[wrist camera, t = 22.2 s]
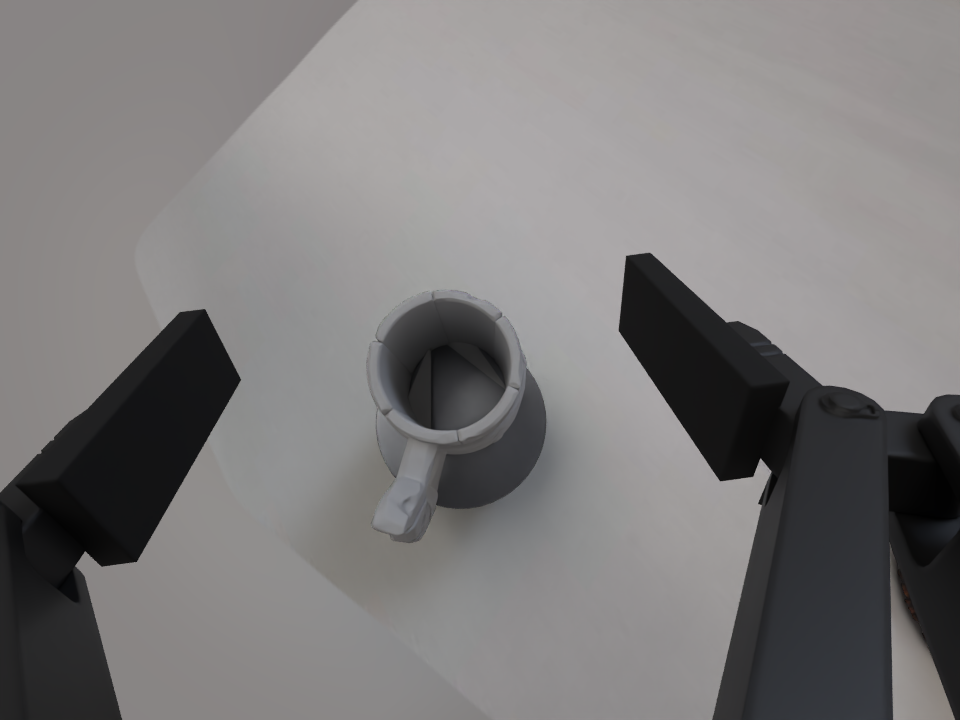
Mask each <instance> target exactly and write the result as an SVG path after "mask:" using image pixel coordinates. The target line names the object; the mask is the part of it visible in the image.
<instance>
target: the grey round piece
mask: <svg viewBox="0 0 960 720" xmlns="http://www.w3.org/2000/svg"><path fill="white" fill-rule="evenodd" d="M479 350H480V351H481V353H482V354H483V355H484V357H485V358H486V360H487V361H488V362H489V364H490V365H491V367H492V368H493V369H494V371H495V372H496V374H497V375H498V376H499V378H500V379H501V381H502V382H503V383H504V385H505V380H504V376H503V374H502V371H501V369H500V367H499V366H498V364H497V363H496V362H495V360H494V358H492V357H491V356H490V355H489V354H488V353H487V352H485V351H484V350H482V349H480V348H479ZM424 357H425V356H424ZM424 357H423V358H422V359H421V361H420V362H419V363H418V365H417V366H416V368H415V371H414V373H413V374H412V378H411V382H410V388H409V393H410V390H411V388H412V386H413V383H414V381H415V378H416V376H417V374H418V371H419V369H420V366H421V364H422V362H423V359H424ZM504 392H505V389H504V388H503V387H502V386H500V385H499V384H498V383H496V382H495V381H494V380H493V379H491V378H490V377H489V376H487V375H486V374H485V373H484V372H482V371H481V370H480V369H478V368H477V367H476V366H475V365H473V364H472V363H471V362H469V361H468V360H467V359H466V358H464V357H463V356H462V355H460V354H459V353H458V352H456V351H455V350H454V349H453V348H451V347H450V346H449V345H444V346H440V347H437V348H435V349H434V350H432V351H431V429H432V430H440V431H449V430H457V431H458V430H459V429H462V428H465V427H468V426H470V425H472V424H474V423H476V422H478V421H479V420H481V419H482V418H483V417H485V416H486V415H487V414H488V413H489V412H490V411H491V410H492V409H493V408H494V407H495V406H496V405H497V404H498V402H499V401H500V399H501V398H502V396H503V394H504ZM376 432H377V440H378V444H379V448H380V451H381V454H382V456H383V459H384V461H385V463H386V465H387V466H388V468H389V470H390V471H391V473H392V474H393V475H394V477H395V478H396V477H397V474H398V471H399V468H400V464H401V461H402V457H403V454H404V451H405V448H406V445H407V441H408V440H407V439H406V438H405V437H403V436H402V435H401V434H400V433H398V432H397V431H396V430H395V429H394V428H393V427H392V425H391V424H390V423H389V422H388V420H387V419H386V418H385V416H384V415H383V414H382V413H381V412H380V410H379V409H378V408H377V415H376ZM545 433H546V411H545V406H544V401H543V398H542V395H541V392H540V389H539V387H538V385H537V383H536V381H535V379H534V378H533V376H532V374H531V373H530V371H529V370H528V369H527V368H526V381H525V390H524V394H523V397H522V400H521V404H520V407H519V410H518V412H517V415H516V417H515V419H514V421H513V422H512V424H511V425H510V427H509V428H508V429H507V430H506V432H505V433H504V434H503V436H502V438H501V439H499V440H498V441H497V442H495V443H492V444H490V445H489V446H487V447H485V448H483V449H481V450H478V451H475V452H471V453H466V454H446V457H445V460H444V464H443V468H442V472H441V476H440V480H439V485H438V490H437V493H438V498H437V503H436V505H437V506H442V507H446V508H455V509H466V508H474V507H480V506H483V505H487V504H490V503H492V502H495V501H497V500H499V499H501V498H503V497H504V496H506V495H507V494H509V493H510V492H512V491H513V490H514V489H515V488H516V487H518V486H519V485H520V484H521V483H522V482H523V481H524V479H525V478H526V477H527V476H528V475H529V473H530V472H531V470H532V469H533V467H534V466H535V464H536V462H537V460H538V458H539V456H540V453H541V450H542V447H543V443H544V439H545Z"/></svg>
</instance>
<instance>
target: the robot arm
mask: <svg viewBox="0 0 960 720" xmlns="http://www.w3.org/2000/svg"><path fill="white" fill-rule="evenodd" d="M619 332H620V333H621V335H622V336H623V338H624V339H625V341H626V342H627V344H628V345H629V347H630V348H631V350H632V351H633V353H634V354H635V356H636V357H637V359H638V360H639V362H640V363H641V365H642V366H643V368H644V369H645V371H646V372H647V373H648V375H649V376H650V378H651V379H652V381H653V382H654V384H655V385H656V387H657V388H658V390H659V391H660V393H661V394H662V396H663V397H664V399H665V400H666V402H667V403H668V405H669V406H670V408H671V409H672V411H673V412H674V414H675V415H676V417H677V418H678V420H679V421H680V423H681V424H682V425H683V427H684V428H685V430H686V431H687V433H688V434H689V436H690V437H691V439H692V440H693V442H694V443H695V445H696V446H697V448H698V449H699V451H700V452H701V454H702V455H703V457H704V458H705V460H706V461H707V463H708V464H709V466H710V467H711V469H712V470H713V472H714V473H715V475H716V476H717V477H718V479H719V480H720V481H726V480H733V479H740V478H748V477H753V476H754V473H755V471H756V468H757V466H758V463H759V460H760V458H761V459H762V460H763V462H764V463H765V464H766V465H767V466H768V468H769V469H770V470H771V471H772V472H771V474H770V477H769V479H768V481H767V484H766V486H765V489H764V491H763V493H762V496H761V498H760V500H759V503H758V504H760V505H762V507H761V512H760V516H759V520H758V525H757V529H756V533H755V537H754V542H753V546H752V550H751V555H750V559H749V563H748V568H747V572H746V576H745V581H744V585H743V589H742V594H741V598H740V602H739V607H738V611H737V615H736V620H735V624H734V628H733V633H732V637H731V641H730V646H729V650H728V654H727V659H726V663H725V667H724V672H723V676H722V680H721V685H720V689H719V693H718V698H717V702H716V706H715V711H714V715H713V719H712V720H893V699H892V648H891V596H890V545H889V542H890V544H891V547H892V550H893V552H894V555H895V558H896V560H897V563H898V566H899V569H900V571H901V574H902V577H903V579H904V582H905V585H906V588H907V590H908V593H909V596H910V598H911V601H912V604H913V607H914V609H915V612H916V615H917V617H918V620H919V623H920V625H921V628H922V631H923V634H924V636H925V639H926V642H927V644H928V647H929V650H930V653H931V655H932V658H933V661H934V663H935V666H936V669H937V672H938V674H939V677H940V680H941V682H942V685H943V688H944V690H945V693H946V696H947V699H948V701H949V704H950V707H951V709H952V712H953V715H954V718H955V720H960V395H943V396H939V397H936V398H935V399H934V400H933V401H932V402H931V403H930V405H929V407H928V408H927V410H926V411H925V413H924V414H919V413H908V412H896V411H884V409H883V408H881V407H880V406H879V405H878V404H877V403H876V402H875V401H874V400H872V399H870V398H868V397H867V396H865V395H863V394H861V393H859V392H856V391H853V390H850V389H847V388H842V387H835V386H822V385H821V384H820V383H819V382H818V381H816V380H815V379H814V378H813V377H812V376H811V375H809V374H808V373H807V372H806V371H805V370H804V369H802V368H801V367H800V366H799V365H798V364H797V363H795V362H794V361H793V360H792V359H791V358H790V357H788V356H787V355H786V354H783V353H782V351H781V350H780V349H779V348H778V347H777V346H775V345H774V344H771V341H770V340H768V339H767V338H766V337H765V336H764V335H763V334H761V333H760V332H759V331H758V330H756V329H754V328H752V327H750V326H747V325H745V324H743V323H741V322H739V321H735V322H728V323H726V322H725V321H724V320H723V319H722V318H721V317H720V316H719V315H717V314H716V313H715V312H714V311H713V310H712V309H711V308H710V307H709V306H708V305H707V304H705V303H704V302H703V301H702V300H701V299H700V298H699V297H698V296H697V295H696V294H695V293H694V292H692V291H691V290H690V289H689V288H688V287H687V286H686V285H685V284H684V283H683V282H682V281H680V280H679V279H678V278H677V277H676V276H675V275H674V274H673V273H672V272H671V271H670V270H668V269H667V268H666V267H665V266H664V265H663V264H662V263H661V262H660V261H659V260H658V259H657V258H655V257H654V256H653V255H652V254H651V253H645V254H637V255H629V256H626V263H625V273H624V283H623V293H622V303H621V313H620V323H619ZM240 381H241V379H240V377H239V375H238V373H237V371H236V369H235V367H234V365H233V363H232V361H231V359H230V357H229V355H228V353H227V351H226V349H225V347H224V345H223V343H222V341H221V339H220V338H219V336H218V334H217V332H216V330H215V328H214V326H213V324H212V322H211V320H210V318H209V316H208V314H207V312H206V310H205V309H202V310H194V311H186V312H180V313H179V314H178V315H177V316H176V317H175V318H174V319H173V320H172V321H171V322H170V323H169V324H168V325H167V326H166V327H165V328H164V329H163V330H162V331H161V333H160V334H159V335H158V336H157V337H156V338H155V339H154V340H153V341H152V342H151V343H150V344H149V345H148V346H147V347H146V348H145V349H144V350H143V351H142V352H141V353H140V354H139V356H138V357H137V358H136V359H135V360H134V361H133V362H132V363H131V364H130V365H129V366H128V367H127V368H126V369H125V370H124V371H123V372H122V373H121V374H120V375H119V377H118V378H117V379H116V380H115V381H114V382H113V383H112V384H111V385H110V386H109V387H108V388H107V389H106V390H105V391H104V392H103V393H102V394H101V395H100V396H99V398H97V399H96V401H95V402H94V403H93V404H92V405H91V406H90V407H89V408H88V409H87V410H86V411H84V412H83V413H82V414H80V415H79V416H77V417H75V418H74V419H73V420H71V421H70V422H69V423H68V424H67V425H66V426H65V427H64V428H63V429H62V430H61V431H60V432H59V433H58V434H57V435H56V436H55V437H54V440H53V441H50V442H49V443H48V444H47V445H46V446H45V447H44V448H43V449H42V450H41V451H42V453H41V454H37V455H36V457H35V458H34V459H33V460H32V461H31V462H30V463H29V464H28V465H27V466H26V467H25V468H24V469H23V470H22V471H21V472H20V473H19V474H18V475H17V476H16V477H15V478H14V479H13V480H12V481H11V482H10V483H9V484H8V485H7V486H6V487H5V488H4V489H3V490H2V492H1V493H0V720H122V718H121V714H120V710H119V706H118V702H117V699H116V695H115V691H114V687H113V684H112V679H111V676H110V672H109V668H108V664H107V660H106V657H105V653H104V649H103V645H102V641H101V638H100V634H99V630H98V626H97V622H96V618H95V614H94V611H93V607H92V603H91V599H90V596H89V592H88V588H87V584H86V580H85V577H84V575H83V574H82V573H81V571H79V570H78V569H77V568H76V567H75V565H76V564H77V562H78V561H79V559H80V558H81V556H82V555H83V554H84V552H85V551H86V552H87V553H88V554H89V555H90V556H91V557H92V558H93V559H94V560H95V561H96V562H97V563H98V564H99V565H101V566H102V567H103V566H110V565H116V564H124V563H132V562H137V560H138V558H139V557H140V555H141V553H142V552H143V550H144V548H145V547H146V545H147V543H148V541H149V539H150V538H151V536H152V534H153V533H154V531H155V529H156V527H157V526H158V524H159V522H160V520H161V519H162V517H163V515H164V513H165V512H166V510H167V508H168V506H169V504H170V503H171V501H172V499H173V498H174V496H175V494H176V492H177V491H178V489H179V487H180V485H181V484H182V482H183V480H184V478H185V477H186V475H187V473H188V472H189V470H190V468H191V466H192V465H193V463H194V461H195V459H196V458H197V456H198V454H199V452H200V451H201V449H202V447H203V445H204V444H205V442H206V440H207V438H208V437H209V435H210V433H211V431H212V430H213V428H214V426H215V424H216V423H217V421H218V419H219V417H220V416H221V414H222V412H223V411H224V409H225V407H226V405H227V404H228V402H229V400H230V398H231V397H232V395H233V393H234V391H235V390H236V388H237V386H238V384H239V383H240Z"/></svg>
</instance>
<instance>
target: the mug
mask: <svg viewBox="0 0 960 720" xmlns="http://www.w3.org/2000/svg"><path fill="white" fill-rule="evenodd" d="M376 338H377V340H378V342H377V341H373V342H372V343H370V346H369V351H368V356H367V366H366V367H367V379H368V384H369V388H370V392H371V394H372V397H373V400H374V402H375V404H376V406H377V407H378V409H379V410H380V412H381V413H382V414H383V415H384V416H385V418H386V419H387V420H388V422H389V423H390V424H391V425H392V427H393V428H394V429H395V430H396V431H397V432H398V433H400V434H401V435H402V436H403V437H405V438H406V439H407V440H408V441H407V445H406V448H405V451H404V454H403V457H402V461H401V464H400V468H399V471H398V474H397V477H396V479H395V480H394V481H393V483H392V484H391V486H390V487H389V489H388V490H387V491H386V492H385V493H384V495H383V496H382V498H381V500H380V502H379V504H378V506H377V507H376V510H375V512H374V516H373V519H372V522H371V526H372V528H374V529H375V530H377V531H380V532H383V533H386V534H389V535H390V538H391V539H392V540H393V541H398V542H405V543H413V542H417V541H419V540H420V539H421V538H422V536H423V535H424V533H425V532H426V529H427V527H428V525H429V523H430V521H431V519H432V516H433V514H434V511H435V507H436V503H437V498H438V493H437V490H438V485H439V480H440V476H441V472H442V468H443V464H444V460H445V457H446V454H466V453H471V452H475V451H478V450H481V449H483V448H485V447H487V446H489V445H490V444H492V443H495V442H497V441H498V440H499V439H501V438H502V436H503V434H504V433H505V432H506V430H507V429H508V428H509V427H510V425H511V424H512V422H513V421H514V419H515V417H516V415H517V412H518V410H519V407H520V404H521V400H522V397H523V394H524V390H525V381H526V367H527V363H526V358H525V356H524V354H523V352H522V350H521V347H520V343H519V340H518V337H517V335H516V332H515V330H514V328H513V327H512V325H511V323H510V322H509V320H508V319H507V318H506V317H505V316H502V312H501V311H500V310H499V309H497V308H496V307H495V306H494V305H492V304H491V303H490V302H488V301H486V300H480V299H477V298H475V297H473V296H471V295H470V294H468V293H465V292H461V291H454V290H437V291H433V296H432V293H431V292H430V291H427V292H423V293H420V294H417V295H415V296H413V297H410V298H409V299H407V300H405V301H403V302H402V303H400V304H399V305H398V306H396V307H395V308H394V309H393V310H392V311H391V312H390V313H389V314H388V315H387V316H386V317H385V318H384V319H383V321H382V322H381V324H380V325H379V327H378V330H377V333H376ZM444 345H449V346H450V347H451V348H453V349H454V350H455V351H456V352H458V353H459V354H460V355H462V356H463V357H464V358H466V359H467V360H468V361H469V362H471V363H472V364H473V365H475V366H476V367H477V368H478V369H480V370H481V371H482V372H484V373H485V374H486V375H487V376H489V377H490V378H491V379H493V380H494V381H495V382H496V383H498V384H499V385H500V386H502V387H503V388H504V389H505V392H504V394H503V396H502V398H501V399H500V401H499V402H498V404H497V405H496V406H495V407H494V408H493V409H492V410H491V411H490V412H489V413H488V414H487V415H486V416H485V417H483V418H482V419H481V420H479V421H478V422H476V423H474V424H472V425H470V426H468V427H465V428H462V429H459V430H458V431H457V430H449V431H440V430H432V429H431V351H432V350H434V349H435V348H437V347H440V346H444ZM479 348H480V349H482V350H484V351H485V352H487V353H488V354H489V355H490V356H491V357H492V358H494V360H495V362H496V363H497V364H498V366H499V367H500V369H501V371H502V374H503V376H504V380H505V385H504V383H503V382H502V381H501V379H500V378H499V376H498V375H497V374H496V372H495V371H494V369H493V368H492V367H491V365H490V364H489V362H488V361H487V360H486V358H485V357H484V355H483V354H482V353H481V351H480V350H479ZM424 356H425V357H424ZM423 357H424V359H423V362H422V364H421V366H420V369H419V371H418V374H417V376H416V378H415V381H414V383H413V386H412V388H411V390H410V393H409V388H410V382H411V378H412V374H413V373H414V371H415V368H416V366H417V365H418V363H419V362H420V361H421V359H422V358H423Z"/></svg>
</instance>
